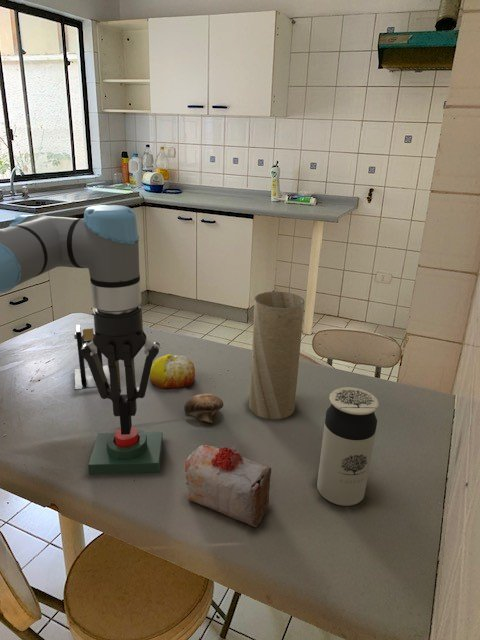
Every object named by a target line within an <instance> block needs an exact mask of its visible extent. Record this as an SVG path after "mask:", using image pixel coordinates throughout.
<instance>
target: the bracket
mask: <svg viewBox="0 0 480 640" xmlns="http://www.w3.org/2000/svg"><path fill="white" fill-rule="evenodd" d="M93 325H94V324H93ZM81 326H82V325H81V324H75V332H74V333H73V336H74V340H76V345H77V354H78V355H77V356H78V363H79V367H78V368H74V370H73V373H74V376H73V377H74V391H77V390H85V389H93V388H97V386H96V383H95V381H94V378H93V376H92V373H91V370H90V368H89V366H88V367H86V366H85V365H86V363H85V359H84V358H83V356H82V355H81V354H80V350H81V348H82V346H83V344H82V336H83V334H82V327H81ZM93 327H94V328H95V325H94V326H93ZM96 348H97V347H96ZM96 353H97V354H98V357H99V359H100V362H101V365H102V368H103V370H104V373H105V376H106V378H107V381H108V384H109V386H110V374H109V367H108V364H105V365H103V363H104V362H103V354H102V352H101V351H100V350H99V349H98V348H97V352H96Z"/></svg>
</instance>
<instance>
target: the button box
mask: <svg viewBox="0 0 480 640" xmlns="http://www.w3.org/2000/svg"><path fill="white" fill-rule="evenodd" d="M135 428H136V429H137V431H138V442H137V443H136V444H135V445H133V446H130V447H119V446H117V445H116V443H115V432H116V431H117V430H118V429H116V430H114V431H113V432H98V433H97V436H96V439H95V442H94V445H93V449H92V452H91V455H90V458H89V461H88V464H87V467H88V468H87V469H88V475H89V476H93V475H95V476H96V475H125V474H159V473H160V468H161V461H162V452H163V451H162V450H163V441H164V438H163V437H164V436H163V435H164V434H163V431H143V430H142V429H140V428H137V427H135Z"/></svg>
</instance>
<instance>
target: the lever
mask: <svg viewBox="0 0 480 640" xmlns="http://www.w3.org/2000/svg"><path fill="white" fill-rule="evenodd" d="M94 335H95V333H94V329H93V328H92V327H90V328H83V329H82V344H84V343H89V342H91V341H92V340H93V337H94Z"/></svg>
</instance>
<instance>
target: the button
mask: <svg viewBox="0 0 480 640" xmlns="http://www.w3.org/2000/svg"><path fill="white" fill-rule="evenodd" d="M136 428H137V427H135V426H132V427H131V431H130V434H125V435H121V427H118V429H116V430H117V431H116V430H115V431H116V432H115V443H116V445H117V446H119V447H130V446H133V445H135V444H136V443H137V442H138V431H137V429H138V428H137V429H136Z"/></svg>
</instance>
